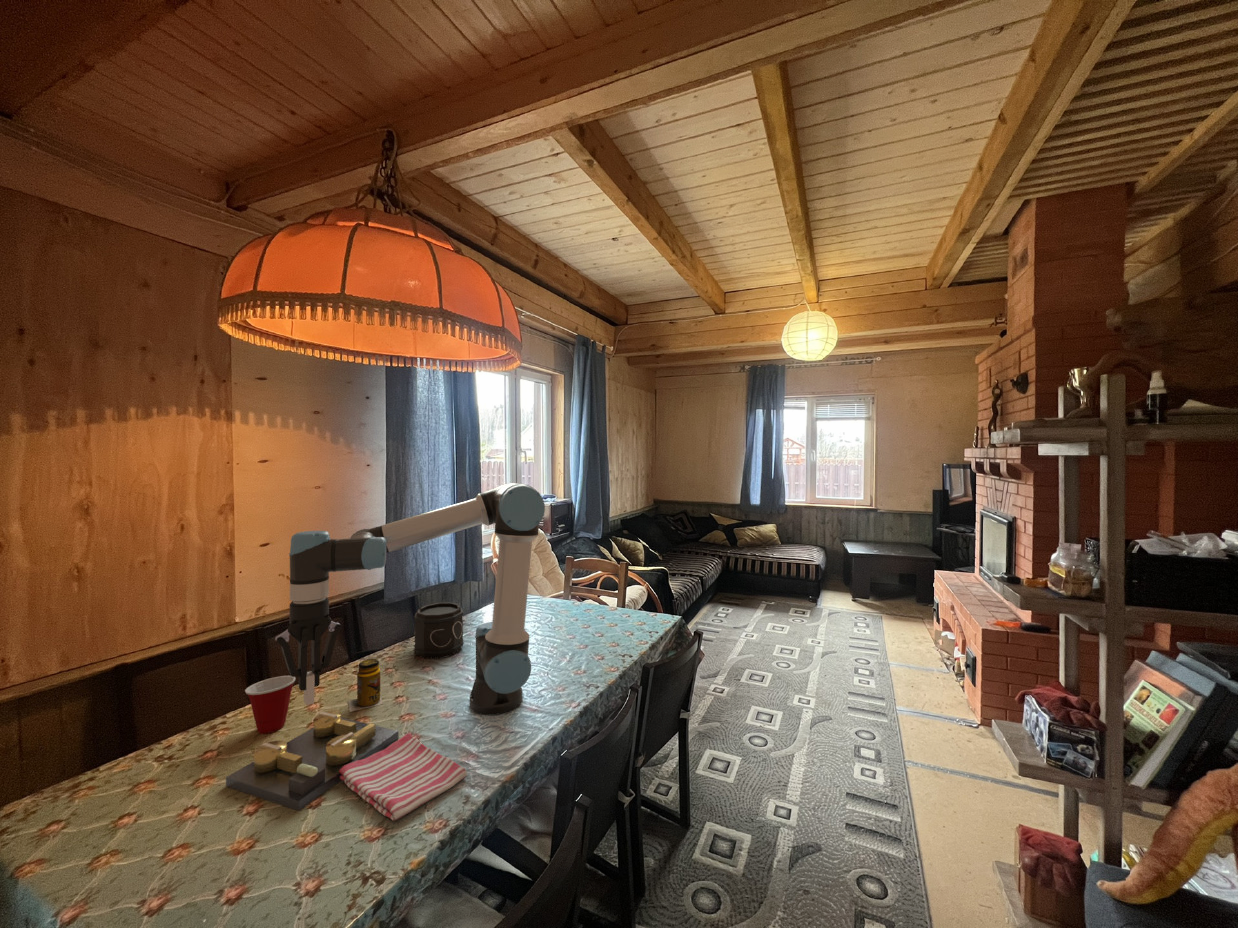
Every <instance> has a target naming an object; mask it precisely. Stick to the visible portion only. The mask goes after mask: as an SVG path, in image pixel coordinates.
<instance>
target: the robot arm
mask: <svg viewBox="0 0 1238 928" xmlns="http://www.w3.org/2000/svg"><path fill="white" fill-rule="evenodd" d="M545 510H546V506H545V501H544V499H543V496H542V495H541V494H540V492H539V491H537V490H536V489H535V488H534V487H533V486H530V485H529V484H523V483H517V482H510V483H506V484H502V485H500V486H497V487H495V488H492V489H490V490H487V491H484V492H481V493H478V494H477V495H476V497H475V498H472V499H469V500H465V501H463V502H459V503H454V504H452V505H448V506H445V507H442V508H438V509H434V510H431V511H427V512H424V513H420V514H416V515H413V516H409V517H406V518H403V519H400V520H395V521H393V522H389V523H384V524H382V525H380V526H374V527H371V528H363V529H360V530H358V531H355V533H352V535H351V536H350V537H349V538H339V539H336V538H331V537H330V533H329V531H326V530H307V531H299V532H295V534H293V535H292V536H290V537H291V538H290V548H289V550H290V551H289V554H288V555H289V601H290V603H289V622H288V624H287V626H286V630H285V631H283V632H281V633H280V634H276V635H275V636H274V640H275V642H277V643H278V644H279V646H280V647H281V651H282V655H283V657H284V661H285V664H286V668H287V670H288V673H289V676H292V677H295V678H296V677H297V678H298V688H299V689H298V690H300V691H301V692H302V691H303V703H304V704H305V705H306V706H310V705H313V704H315V688H317V687H319V685H321V683H320V679H321V676H320V675H321V672H322V670H324V669H327V668H328V667H330V664H331V659H332V656H333V651H334V648H335V644H336V640H337V636H338V634H339V633H340V631H341V630H342V627H343V625H342V624H340V623H339V622H338V621H337V622H335V621H333V620H332V618H331V617H330V610H329V609H330V599H329V595H330V573H332V572H333V573H335V572H345V571H346V572H347V571H363V570H364V571H365V570H368V571H371V570H375V569H380V568H384V567H385V566H386V563H387V554H389V553H390V552H394V551H397V550H398V551H399V550H401V549H404V548H407V547H410V546H415V545H417V544H421V543H423V542H427V541H430V540H433V539H436V538H441V537H443V536H447V535H450V534H453V533H456V532H457V533H458V532H460V531H464V530H465V529H466V530H467V529H470V528H473V527H477V526H479V525H482V524H483V525H484V526H486V527H487V526H490V525H491V526H492V525H494V535H495V536H496V537H497V538H498V539H499V542H498V554H497V566H496V575H495V576H496V577H495V589H494V598H493V599H494V600H493V612H492V621H488V622H485V623H482V624H480V625H478V626H477V627H476V629H475V635H474V638H475V678H474V682H473V685H472V688H471V692H470V693H469V694H470V695H469V709H470V710H471V711H472V712H474V713H476V714H479V715H485V716H487V715H488V716H493V715H495V716H496V715H500V714H504V713H507V712H510V711H512V710H514V709H516V708H517V707H519V706H520V704H522V702H523V699H524V698H523V694H524V693H523V688H522V687H523V686H524V685H526V683H527V682H528V680H529V678H530V676H531V672H532V662H531V659H530V656H529V647H530V646H529V645H530V634H529V633H528V632H527V630H526V629H525V626H526V625H525V624H526V615H527V614H526V613H527V604H528V603H527V602H528V592H529V583H530V582H529V579H530V570H531V569H530V568H531V557H532V556H531V555H532V546H533V541H534V540H535V539H536V538H537V537H538V536H539V529H540V523H541V522H542V520H543V518H544V516H545V512H546V511H545ZM326 630H328V632H327V633H328V634H327V636H326V641H325V645H324V647H323V652H322V656H321V642H322V636H323V635H324V633H325V632H326ZM290 635H291V636H292V637H293V638H294V639H295V640H296V641H297V645H298V648H297V649H298V651H297V652H298V653H297V654H298V655H297V656H298V658H297V659H298V660H297V664H298V665H297V666H296V664H295V663H296V662H295V659H294V656H293V653H292V650H291V647H290V644H289V643H288V642H289V641H290ZM309 641H311V643H310V644H311V646H310V647H311V649H310V650H311V653H310V655H311V665H310V666H311V670H310V671H308V646H309Z"/></svg>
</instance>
